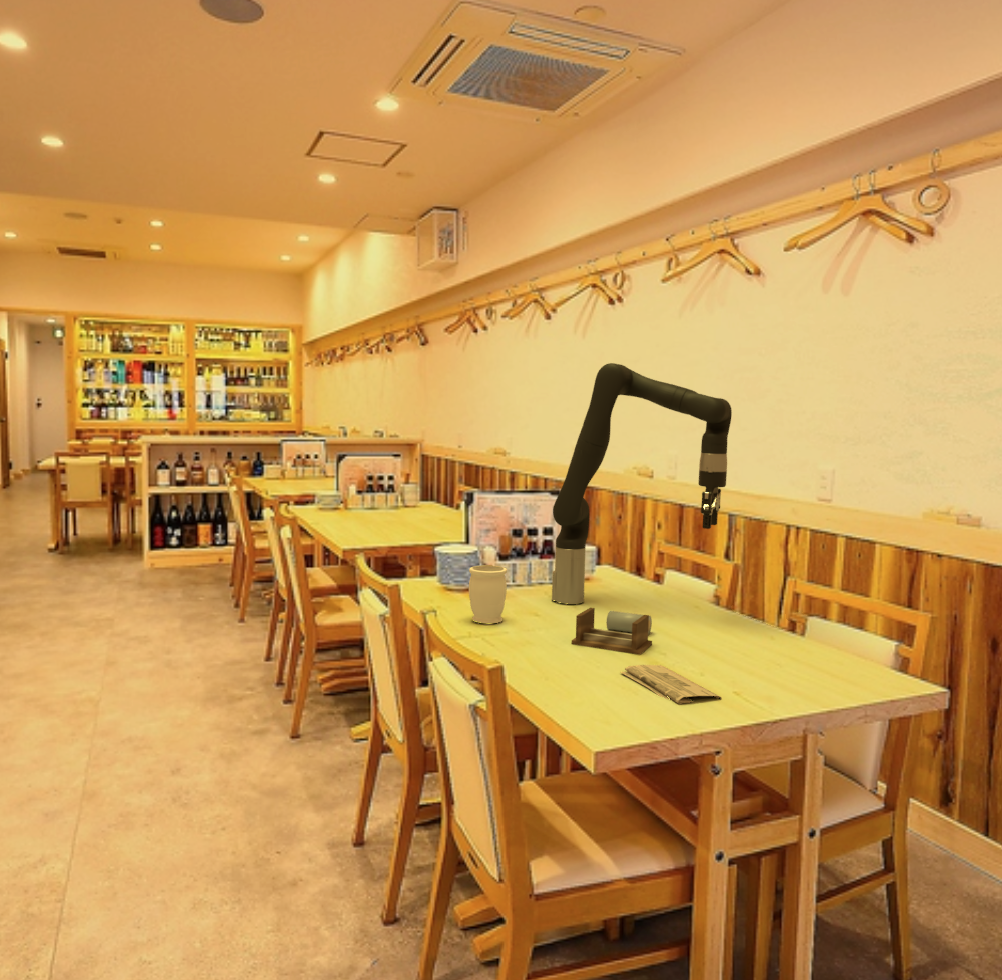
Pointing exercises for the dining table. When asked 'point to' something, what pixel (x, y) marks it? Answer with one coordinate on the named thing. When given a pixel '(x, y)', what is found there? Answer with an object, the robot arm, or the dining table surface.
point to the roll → (624, 621)
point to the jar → (487, 593)
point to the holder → (611, 635)
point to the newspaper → (666, 683)
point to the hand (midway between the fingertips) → (709, 526)
